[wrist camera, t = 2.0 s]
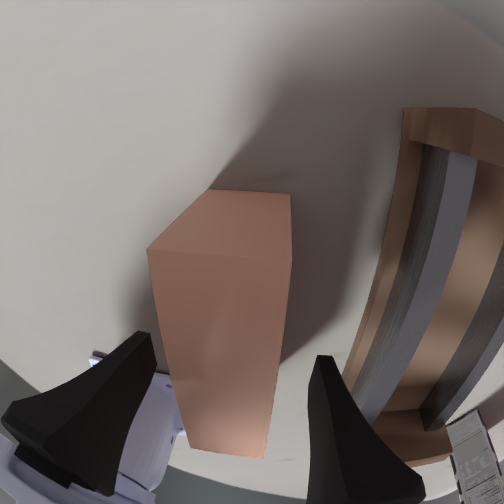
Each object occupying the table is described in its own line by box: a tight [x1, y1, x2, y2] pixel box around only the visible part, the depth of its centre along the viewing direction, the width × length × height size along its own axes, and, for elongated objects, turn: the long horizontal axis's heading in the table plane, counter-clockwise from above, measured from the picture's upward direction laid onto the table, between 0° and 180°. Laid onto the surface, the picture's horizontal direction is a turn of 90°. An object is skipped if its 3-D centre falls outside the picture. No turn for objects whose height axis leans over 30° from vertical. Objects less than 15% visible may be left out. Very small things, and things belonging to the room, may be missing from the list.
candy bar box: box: [446, 408, 504, 504], centre depth 15 cm, size 11×5×16 cm, turn 42°
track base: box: [341, 108, 504, 468], centre depth 13 cm, size 22×10×6 cm, turn 177°
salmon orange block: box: [147, 189, 292, 458], centre depth 13 cm, size 12×4×7 cm, turn 178°
